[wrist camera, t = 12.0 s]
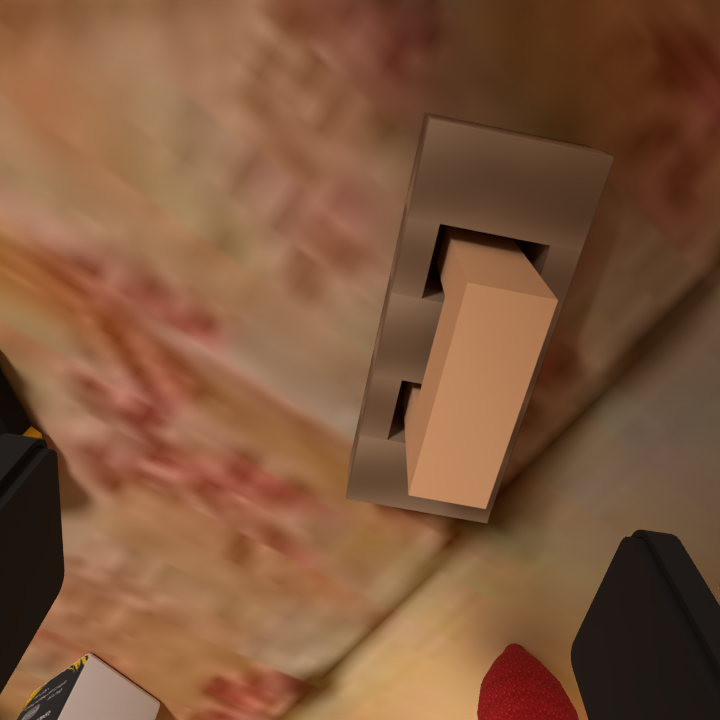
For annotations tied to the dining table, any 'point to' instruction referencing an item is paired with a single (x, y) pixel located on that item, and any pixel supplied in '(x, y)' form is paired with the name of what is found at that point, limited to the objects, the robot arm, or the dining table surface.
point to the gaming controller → (13, 413)
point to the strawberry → (522, 690)
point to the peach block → (475, 368)
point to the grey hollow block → (426, 296)
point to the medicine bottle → (90, 695)
